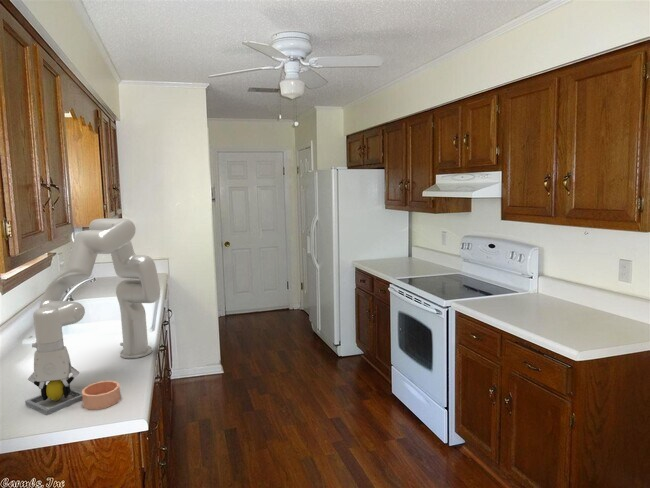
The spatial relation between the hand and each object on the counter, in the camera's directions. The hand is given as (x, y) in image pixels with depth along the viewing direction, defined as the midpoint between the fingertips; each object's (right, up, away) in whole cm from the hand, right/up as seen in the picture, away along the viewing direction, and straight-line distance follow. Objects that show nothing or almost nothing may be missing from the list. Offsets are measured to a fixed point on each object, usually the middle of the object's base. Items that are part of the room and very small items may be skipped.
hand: (56, 396), depth 157 cm
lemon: (0, -2, 0) cm, 2 cm away
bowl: (+15, -1, 0) cm, 15 cm away
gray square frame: (0, -2, 0) cm, 2 cm away
